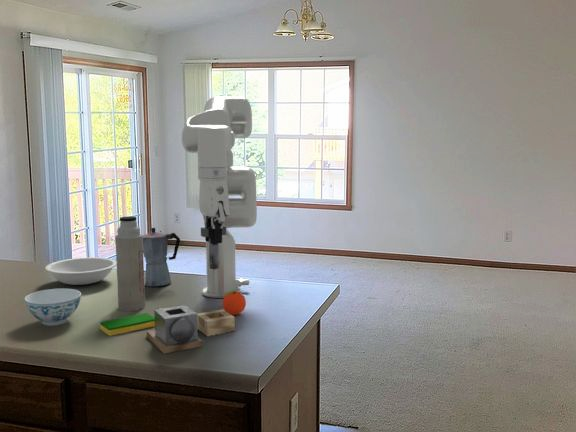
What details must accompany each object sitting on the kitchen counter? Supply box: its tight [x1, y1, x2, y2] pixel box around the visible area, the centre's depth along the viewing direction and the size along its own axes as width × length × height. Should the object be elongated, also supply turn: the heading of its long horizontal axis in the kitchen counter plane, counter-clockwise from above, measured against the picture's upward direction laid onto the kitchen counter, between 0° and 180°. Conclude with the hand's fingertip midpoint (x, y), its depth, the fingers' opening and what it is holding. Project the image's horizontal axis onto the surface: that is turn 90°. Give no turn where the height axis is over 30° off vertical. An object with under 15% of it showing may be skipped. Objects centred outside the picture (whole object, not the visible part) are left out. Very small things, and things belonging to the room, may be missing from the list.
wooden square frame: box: [197, 308, 236, 337], centre depth 168 cm, size 8×8×4 cm
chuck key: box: [200, 226, 226, 269], centre depth 165 cm, size 6×3×11 cm, turn 120°
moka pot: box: [142, 227, 181, 287], centre depth 214 cm, size 10×15×20 cm, turn 95°
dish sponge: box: [99, 312, 155, 337], centre depth 170 cm, size 7×14×2 cm, turn 127°
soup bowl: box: [44, 256, 117, 286], centre depth 217 cm, size 24×24×7 cm
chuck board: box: [146, 329, 203, 354], centre depth 159 cm, size 10×14×2 cm
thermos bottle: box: [115, 216, 146, 312], centre depth 187 cm, size 8×8×28 cm
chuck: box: [153, 304, 199, 346], centre depth 160 cm, size 19×8×7 cm, turn 30°
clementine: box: [222, 291, 247, 316], centre depth 181 cm, size 8×7×7 cm
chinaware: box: [24, 288, 82, 327], centre depth 174 cm, size 15×15×8 cm
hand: (213, 241), depth 165 cm, fingers closed on chuck key, 2 cm apart
